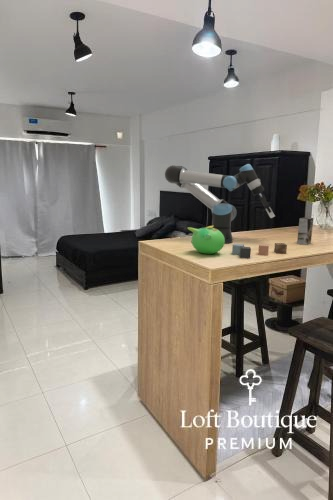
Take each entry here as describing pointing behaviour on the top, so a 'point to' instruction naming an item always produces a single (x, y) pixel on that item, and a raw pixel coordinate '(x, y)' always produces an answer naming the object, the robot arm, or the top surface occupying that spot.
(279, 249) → the walnut cube
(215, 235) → the toy bird
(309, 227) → the coffee box
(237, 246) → the slate grey cube
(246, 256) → the black rubber cube
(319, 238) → the top surface
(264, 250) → the terracotta cube
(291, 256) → the top surface
